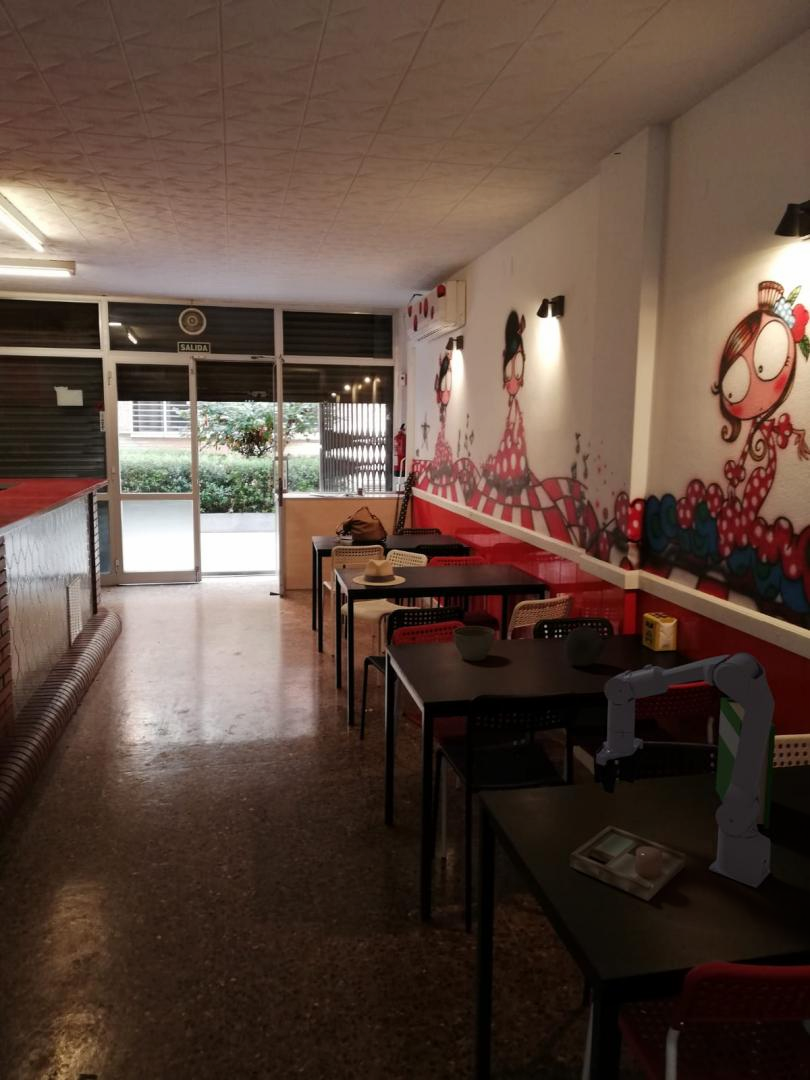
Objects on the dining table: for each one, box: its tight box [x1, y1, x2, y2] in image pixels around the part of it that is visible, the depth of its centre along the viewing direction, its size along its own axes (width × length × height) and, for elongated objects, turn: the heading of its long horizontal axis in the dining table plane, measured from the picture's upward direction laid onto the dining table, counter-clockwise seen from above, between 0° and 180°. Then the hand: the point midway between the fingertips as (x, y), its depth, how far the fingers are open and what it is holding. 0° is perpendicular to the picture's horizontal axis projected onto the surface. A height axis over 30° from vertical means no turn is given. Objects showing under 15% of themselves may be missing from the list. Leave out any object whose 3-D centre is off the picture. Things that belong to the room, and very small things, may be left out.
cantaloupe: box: [563, 626, 605, 668], centre depth 293 cm, size 14×14×15 cm
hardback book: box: [715, 697, 776, 830], centre depth 181 cm, size 18×7×24 cm, turn 171°
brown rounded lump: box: [635, 846, 663, 879], centre depth 153 cm, size 5×5×4 cm
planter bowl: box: [452, 625, 496, 662], centre depth 304 cm, size 16×16×11 cm
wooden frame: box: [569, 825, 686, 902], centre depth 158 cm, size 17×16×3 cm
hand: (618, 786), depth 172 cm, fingers open, 7 cm apart
